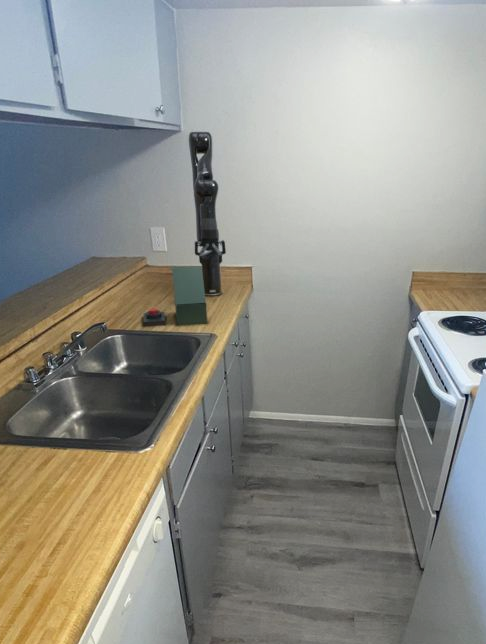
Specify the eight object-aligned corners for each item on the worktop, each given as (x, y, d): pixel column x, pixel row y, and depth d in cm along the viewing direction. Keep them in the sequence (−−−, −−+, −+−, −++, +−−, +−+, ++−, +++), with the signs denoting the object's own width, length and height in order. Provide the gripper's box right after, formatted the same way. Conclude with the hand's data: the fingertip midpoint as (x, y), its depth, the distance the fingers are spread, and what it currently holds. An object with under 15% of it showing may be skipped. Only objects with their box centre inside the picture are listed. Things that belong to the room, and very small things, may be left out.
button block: (144, 317, 212) (143, 309, 210) (164, 316, 214) (163, 307, 212) (144, 326, 201) (142, 317, 200) (165, 325, 203) (164, 316, 201)
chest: (176, 314, 216) (174, 295, 212) (203, 312, 219) (202, 293, 215) (177, 325, 203) (176, 305, 199) (207, 323, 206) (205, 304, 201)
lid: (171, 268, 201) (171, 267, 200) (201, 266, 203) (201, 265, 202) (175, 305, 199) (175, 304, 198) (205, 303, 202) (205, 302, 201)
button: (149, 312, 207) (148, 308, 206) (157, 312, 208) (157, 308, 207) (149, 315, 204) (148, 311, 203) (157, 314, 205) (157, 310, 204)
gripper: (223, 226, 220) (224, 261, 228) (192, 227, 217) (195, 262, 225) (225, 228, 214) (227, 264, 221) (193, 229, 211) (196, 266, 218)
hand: (210, 263), depth 223 cm, fingers open, 8 cm apart
